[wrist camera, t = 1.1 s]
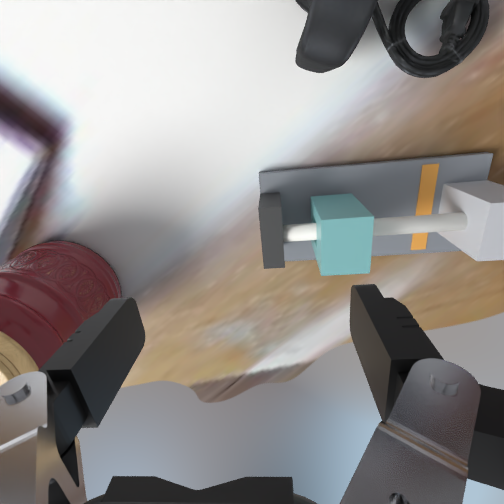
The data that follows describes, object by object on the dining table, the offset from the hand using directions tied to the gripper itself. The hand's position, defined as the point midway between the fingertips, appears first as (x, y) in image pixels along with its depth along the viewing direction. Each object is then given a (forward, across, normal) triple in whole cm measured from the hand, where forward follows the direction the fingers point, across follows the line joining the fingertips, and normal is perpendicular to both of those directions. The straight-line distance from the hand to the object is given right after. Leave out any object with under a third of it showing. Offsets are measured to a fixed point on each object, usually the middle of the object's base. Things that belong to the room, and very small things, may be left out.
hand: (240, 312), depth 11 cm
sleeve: (+21, -7, +4) cm, 22 cm away
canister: (+23, +25, +10) cm, 36 cm away
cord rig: (+22, -11, +4) cm, 25 cm away
